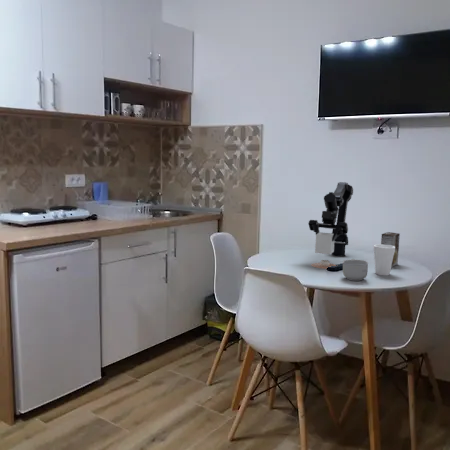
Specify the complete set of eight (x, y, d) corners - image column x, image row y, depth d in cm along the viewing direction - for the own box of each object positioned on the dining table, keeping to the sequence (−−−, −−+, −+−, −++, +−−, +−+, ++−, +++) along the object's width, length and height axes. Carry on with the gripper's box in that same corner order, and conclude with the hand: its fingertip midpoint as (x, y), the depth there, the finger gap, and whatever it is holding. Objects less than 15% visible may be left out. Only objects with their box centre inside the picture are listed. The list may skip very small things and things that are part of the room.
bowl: (327, 264, 227) (328, 260, 227) (329, 266, 223) (330, 261, 223) (319, 264, 227) (320, 259, 227) (321, 266, 223) (321, 261, 223)
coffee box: (385, 262, 240) (387, 231, 237) (397, 264, 236) (400, 233, 233) (378, 265, 233) (381, 233, 230) (391, 267, 228) (394, 235, 226)
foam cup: (379, 276, 208) (381, 248, 207) (367, 271, 217) (369, 244, 215) (397, 275, 211) (399, 247, 209) (385, 270, 220) (387, 244, 218)
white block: (318, 250, 229) (319, 232, 228) (333, 251, 226) (334, 233, 225) (315, 252, 223) (316, 234, 222) (330, 254, 220) (331, 235, 218)
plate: (334, 264, 232) (334, 263, 232) (341, 270, 219) (341, 269, 219) (308, 263, 232) (308, 262, 232) (314, 269, 219) (314, 268, 219)
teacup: (366, 283, 196) (367, 265, 195) (340, 280, 199) (341, 262, 198) (367, 276, 209) (368, 258, 208) (343, 273, 212) (344, 256, 211)
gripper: (310, 203, 229) (303, 228, 221) (348, 206, 221) (342, 231, 213) (313, 217, 237) (306, 242, 229) (350, 220, 229) (344, 245, 221)
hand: (324, 240), depth 222 cm, fingers closed on white block, 7 cm apart
